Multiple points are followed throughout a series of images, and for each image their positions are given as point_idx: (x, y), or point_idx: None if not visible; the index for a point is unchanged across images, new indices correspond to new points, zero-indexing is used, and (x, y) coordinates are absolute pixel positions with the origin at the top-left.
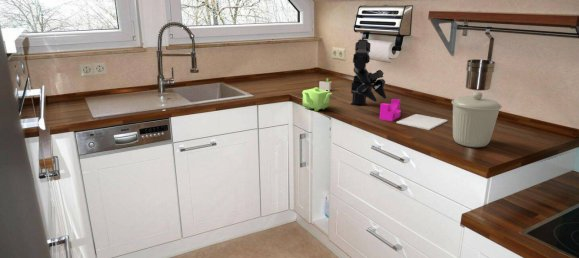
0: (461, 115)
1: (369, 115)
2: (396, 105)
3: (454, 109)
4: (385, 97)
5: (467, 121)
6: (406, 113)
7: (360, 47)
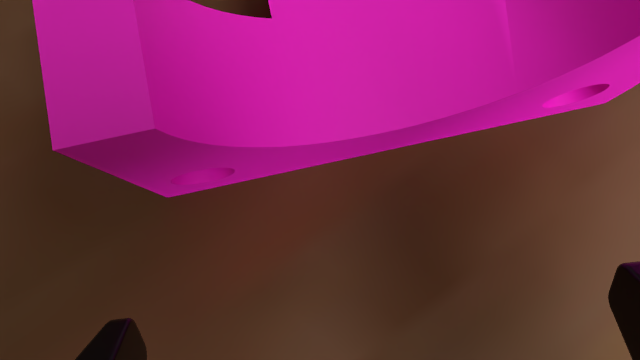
0: None
1: (582, 316)
2: (203, 24)
3: None
4: (131, 330)
5: None
6: None
7: None
